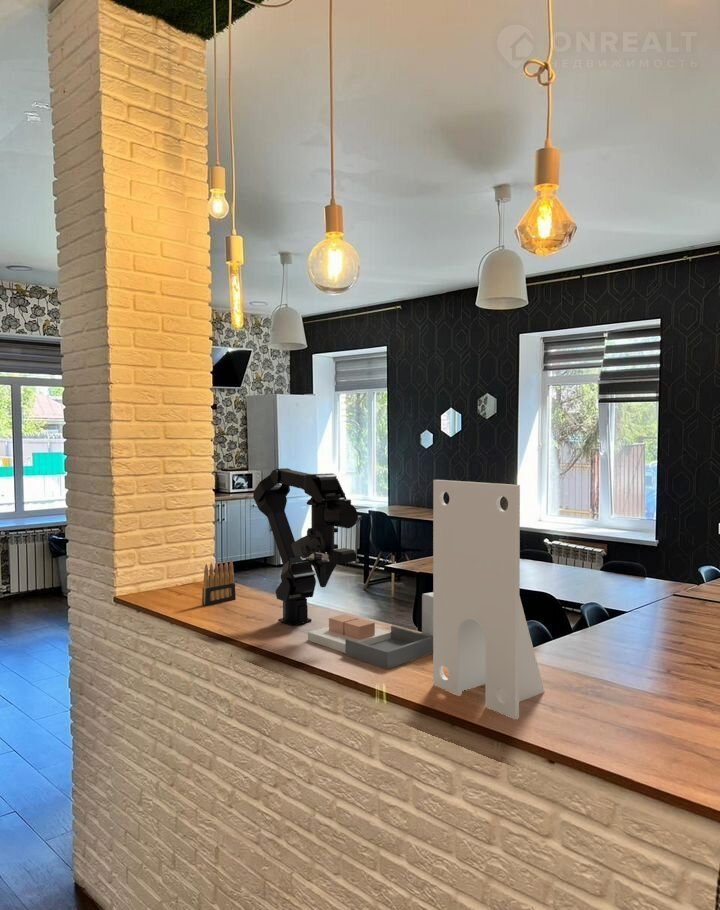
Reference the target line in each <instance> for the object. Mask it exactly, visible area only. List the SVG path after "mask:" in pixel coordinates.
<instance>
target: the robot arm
mask: <svg viewBox="0 0 720 910" xmlns="http://www.w3.org/2000/svg"><path fill="white" fill-rule="evenodd" d="M291 487H293V488H296V489H301V490H303V491H304V493H305V494H306V495H308V496H310V499H308V500H307V501H306V505H307V506H311V509H310V510H311V518H310V520H311V523H310V524H311V527H309V528H307V530H306V535H305V536H302V537H300V538H298V539H297V540H295V537H294V534H293V532H292V528H291V525H290V523H289V520H288V516H287V513H286V507H287V503H288V498H287V495H288V494H289V493H290V492H291ZM252 495H253V500H254V502H255V504H256V506H257V509H258V510H259V512H261V513H262V514H263V515H264V516H265V517H267V520H268V523H269V526H270V529H271V532H272V535H273V538H274V541H275V544H276V547H277V550H278V552H279V554H278V555H279V556H280V560H281V563H282V570H281V572H280V581H281V582H280V583H279V585H278V587H277V588H276V590H275V596H276V600H279V601H282V617H281V618H278V620H277V621H278V622H281V623H284V624H285V625H290V626H297V625H301V624H305V623H309V622H312V618H309V617H308V608H309V607H308V599H309V598H313V597H314V594H315V589H316V584H317V580H318V583H319V586H320V587H321V588H326V587H327V584H328V582H329V580H330V578H331V576H332V574H333V571H334V570H335V568H336V567H337V565H343V564H348V563H353V562H357V552H356V551H355V549H351V548H346V547H343V548H339V544H338V543H337V544H335V534H336V533H339V528H344V529H351V528H353V527H354V526H355V525H356V524H357V522H358V518H359V516H358V515H359V514H358V511H357V509H356V507H355V506H354V505H353V504H352V500H351V499H350V498H347V497H346V493H345V491H344V490H343V487H342V485H341V484H340V481H339V478H337V475H336V474H334V473H332V472H331V473H329V472H328V473H309V472H308V473H307V472H302V471H297V470H294V469H291V468H275V469H273V470H272V471H270V474H269V475H267V476H266V477H265V478H263V479H262V480H260V482H258V484H257V485H256V487H255V489H254V490H253V494H252ZM304 559H305V561H304ZM314 571H315V572H314ZM316 577H317V580H316Z"/></svg>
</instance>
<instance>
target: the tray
mask: <svg viewBox="0 0 720 910" xmlns="http://www.w3.org/2000/svg"><path fill="white" fill-rule="evenodd" d="M390 632H391V639H388V640H385V641H381V642H378V643H375V644H372V645H367V644H364V643H361V642H358V641H355V640H352V639H345V653H344V654H345V656H348V657H351V658H353V659H356V660H360V661H363V662H365V663H368V664H371V665H373V666H377V667H379V668H383V669H386V670H389V669H391V668H395V667H397V666H400V665H403V664H406V663H408V662H412V661H414V659H415V660H417V659H420V658H423V657H426V656H428V655H431V654H432V655H433V636H430V635H427V634H423V633H422V632H419V631H416V630H411V629H407V628H405V627H401V626H397V625H390ZM425 655H426V656H425ZM422 656H423V657H422ZM411 660H412V661H411Z"/></svg>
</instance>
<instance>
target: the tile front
mask: <svg viewBox="0 0 720 910" xmlns="http://www.w3.org/2000/svg"><path fill="white" fill-rule="evenodd" d="M375 628H376V623H375V622H374V621H370V620H366V619H363V618H358V619H356V620H352V621H348V622H345V636H349V637H352V638H355V639H358V640H361V639H364V638H367V637H371V636H374V635H375Z"/></svg>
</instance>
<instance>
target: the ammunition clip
mask: <svg viewBox="0 0 720 910" xmlns="http://www.w3.org/2000/svg"><path fill="white" fill-rule="evenodd" d="M233 563H234V562H233V560H232V559H230V561H229V563H228V561H227V560H225V562H224V565H223V561H220V562H219V564H218V562H215V564H214V565H213V563H212V562H211V563H210V564H209V565H210V566H209V567H208V564H207V563H206V564H205V565H204V568H203V569H204V571H203V574H204V575H203V587H202V594H201V595H202V597H201V598H202V599H201V601H202V602H201V603H202V604H201V605H202V606H204V607H207V606H213V605H218V604H222V603H226V602H232V601H236V597H237V596H236V583H235V573H234V564H233ZM218 565H219V566H218Z"/></svg>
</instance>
